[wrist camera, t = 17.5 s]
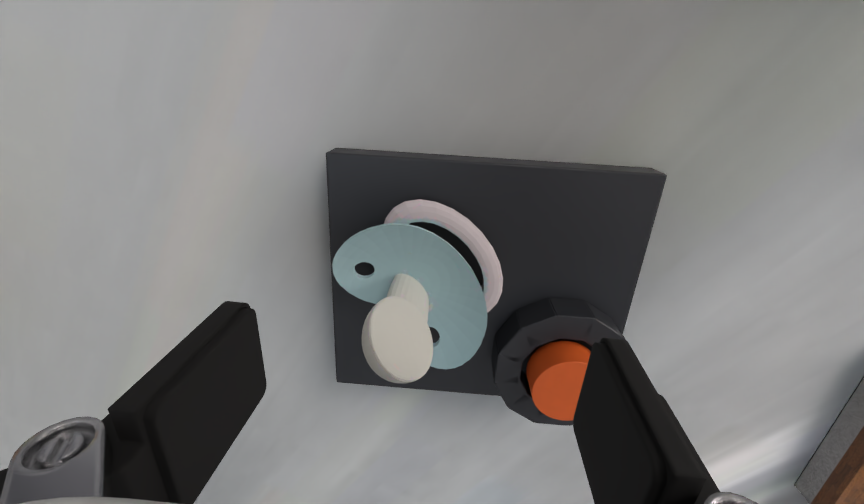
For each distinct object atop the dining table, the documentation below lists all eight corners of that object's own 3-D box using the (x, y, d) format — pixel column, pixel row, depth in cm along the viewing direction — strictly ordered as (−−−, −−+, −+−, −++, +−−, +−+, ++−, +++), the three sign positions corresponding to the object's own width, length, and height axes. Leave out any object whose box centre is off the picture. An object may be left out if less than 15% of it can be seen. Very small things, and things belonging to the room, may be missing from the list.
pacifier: (426, 164, 17) (327, 250, 18) (415, 199, 11) (271, 322, 12) (530, 285, 19) (432, 355, 20) (569, 372, 13) (426, 460, 14)
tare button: (603, 342, 18) (616, 365, 16) (588, 398, 19) (599, 424, 18) (531, 337, 18) (537, 358, 17) (521, 393, 19) (526, 418, 18)
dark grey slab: (653, 167, 17) (691, 183, 15) (595, 387, 22) (615, 430, 19) (334, 147, 18) (312, 158, 15) (342, 366, 22) (327, 405, 20)
